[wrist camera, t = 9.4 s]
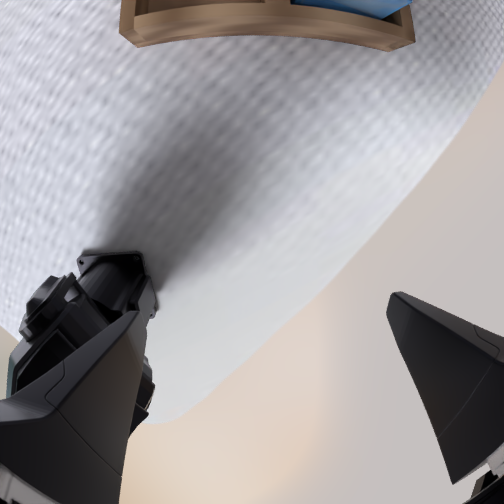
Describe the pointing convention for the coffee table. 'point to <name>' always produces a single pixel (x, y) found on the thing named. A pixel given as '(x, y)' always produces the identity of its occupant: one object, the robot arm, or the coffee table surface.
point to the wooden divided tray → (258, 22)
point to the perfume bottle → (358, 6)
